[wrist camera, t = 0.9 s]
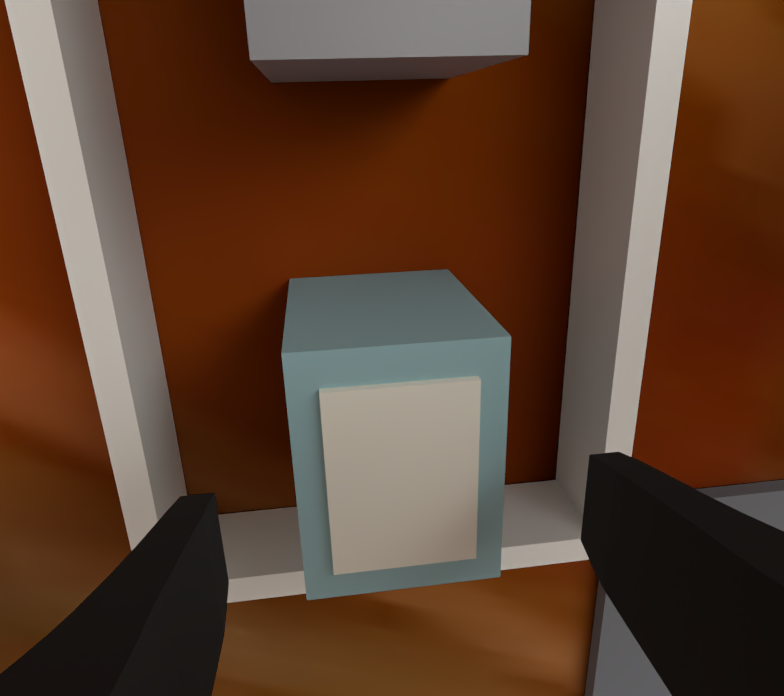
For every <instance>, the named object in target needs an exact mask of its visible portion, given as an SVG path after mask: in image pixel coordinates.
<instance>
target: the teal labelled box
mask: <svg viewBox="0 0 784 696" xmlns="http://www.w3.org/2000/svg"><path fill="white" fill-rule="evenodd" d="M510 355H511V335H510V334H509V333H508V332H507V331H506V330H505V329H504V328H503V327H502V326H501V325H500V324H499V323H498V322H497V321H496V320H495V318H494V317H493V316H492V315H491V314H490V313H489V312H488V311H487V310H486V309H485V308H484V307H483V306H482V305H481V304H480V303H479V302H478V300H477V299H476V298H475V297H474V296H473V295H472V294H471V293H470V292H469V291H468V290H467V289H466V288H465V287H464V286H463V285H462V284H461V283H460V281H459V280H458V279H457V278H456V277H455V276H454V275H453V274H452V273H451V272H450V271H449V270H448V269H442V270H425V271H409V272H392V273H376V274H359V275H343V276H326V277H310V278H293V279H289V288H288V297H287V306H286V315H285V324H284V333H283V342H282V351H281V356H282V365H283V375H284V385H285V394H286V404H287V414H288V423H289V433H290V443H291V452H292V462H293V472H294V481H295V491H296V501H297V510H298V520H299V530H300V539H301V549H302V559H303V568H304V578H305V588H306V597H307V600H314V599H322V598H330V597H339V596H347V595H355V594H363V593H372V592H380V591H388V590H396V589H405V588H413V587H421V586H429V585H438V584H446V583H454V582H462V581H470V580H479V579H487V578H495V577H500V571H501V550H502V528H503V507H504V485H505V463H506V442H507V420H508V398H509V377H510Z"/></svg>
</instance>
